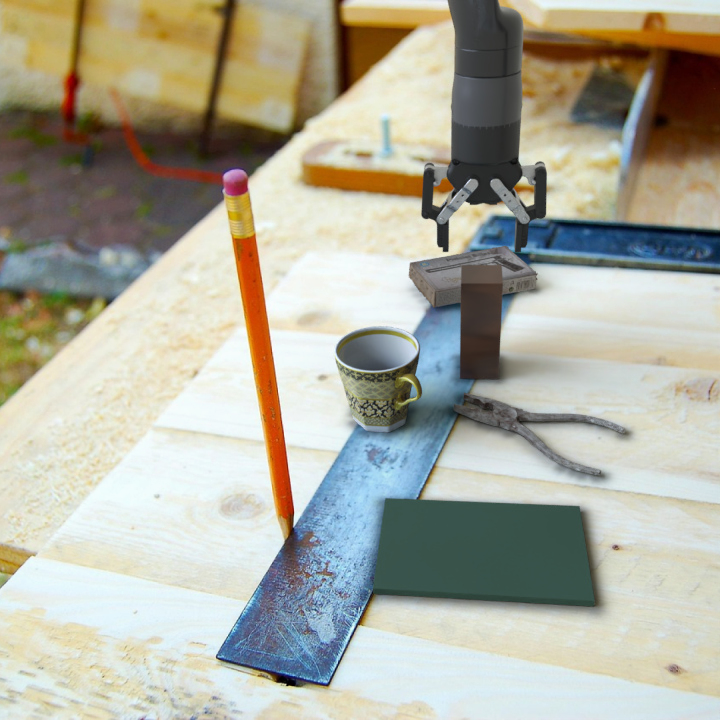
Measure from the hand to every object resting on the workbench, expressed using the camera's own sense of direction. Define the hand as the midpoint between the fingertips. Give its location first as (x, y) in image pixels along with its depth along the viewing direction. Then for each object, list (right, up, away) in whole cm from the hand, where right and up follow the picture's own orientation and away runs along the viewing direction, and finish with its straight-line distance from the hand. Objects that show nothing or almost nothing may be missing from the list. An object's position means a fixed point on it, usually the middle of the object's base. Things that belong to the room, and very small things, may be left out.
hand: (481, 249), depth 92 cm
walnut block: (+1, -14, +10) cm, 17 cm away
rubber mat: (-3, -32, -17) cm, 36 cm away
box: (+3, -2, +29) cm, 29 cm away
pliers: (+5, -22, -3) cm, 23 cm away
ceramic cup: (-11, -21, +1) cm, 24 cm away
